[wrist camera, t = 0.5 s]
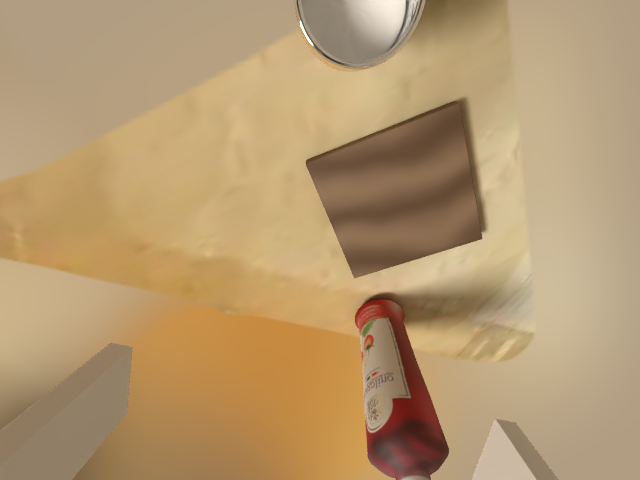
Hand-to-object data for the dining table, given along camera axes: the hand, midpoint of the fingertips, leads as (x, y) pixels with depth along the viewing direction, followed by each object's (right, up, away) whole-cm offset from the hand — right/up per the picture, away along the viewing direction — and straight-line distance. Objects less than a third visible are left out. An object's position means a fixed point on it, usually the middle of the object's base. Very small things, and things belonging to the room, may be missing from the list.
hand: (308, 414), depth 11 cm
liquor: (+9, -4, +34) cm, 35 cm away
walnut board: (+9, +11, +25) cm, 29 cm away
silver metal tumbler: (+3, +26, +17) cm, 31 cm away
